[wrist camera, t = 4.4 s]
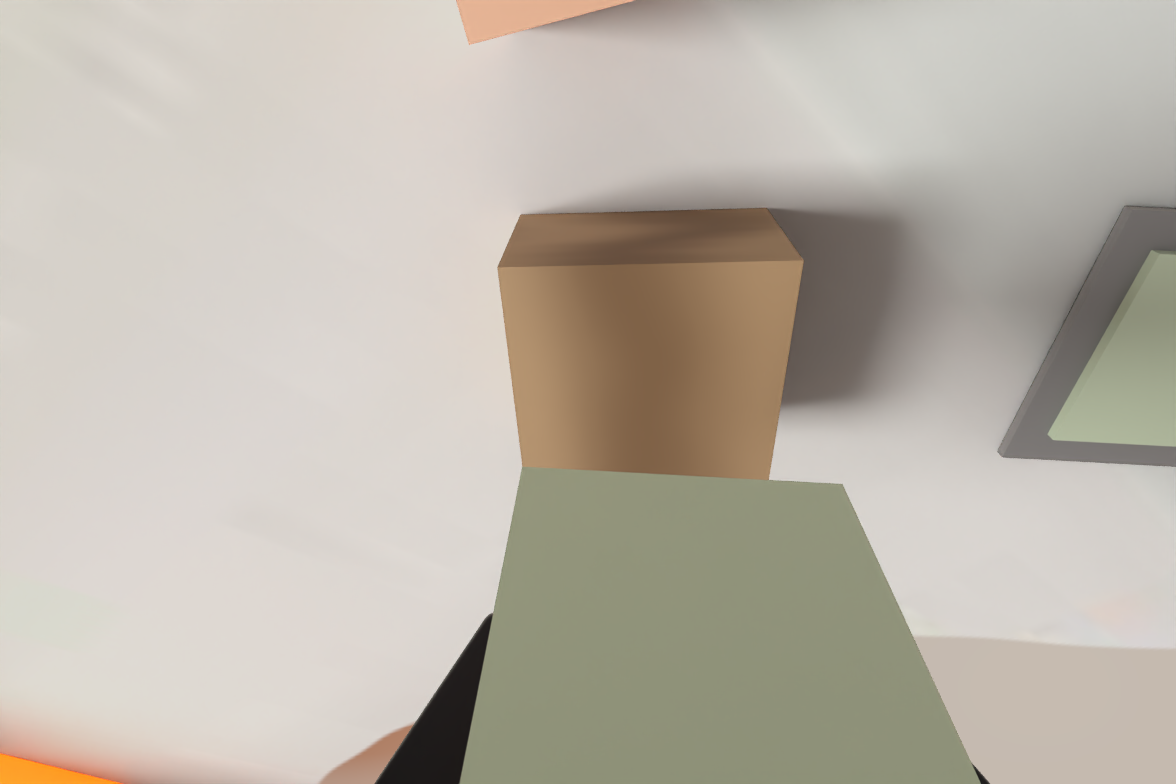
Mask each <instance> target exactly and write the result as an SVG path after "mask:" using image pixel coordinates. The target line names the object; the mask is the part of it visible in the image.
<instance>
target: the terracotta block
mask: <svg viewBox="0 0 1176 784" xmlns="http://www.w3.org/2000/svg"><path fill="white" fill-rule="evenodd" d="M456 1H457V5H458V8H459V12H460V15H461V18H462V22H463V25H464V29H465V32H466V36H467V39H468V43H469V45H470V44H474V43H478V42H482V41H485V40H489V39H493V38H497V37H500V36H504V35H508V34H511V33H515V32H519V31H523V30H526V29H530V28H534V27H538V26H541V25H545V24H549V23H553V22H556V21H560V20H564V19H568V18H571V17H575V16H579V15H583V14H586V13H590V12H594V11H598V10H601V9H605V8H609V7H612V6H616V5H620V4H624V3H627V2H631V1H635V0H456Z"/></svg>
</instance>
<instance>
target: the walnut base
mask: <svg viewBox="0 0 1176 784" xmlns="http://www.w3.org/2000/svg"><path fill="white" fill-rule="evenodd" d="M803 262H804V260H803V259H802V257H801V256H800V254H799V253H798V252H797V250H796V249H795V247H794V246H793V244H792V243H791V242H790V240H789V239H788V237H787V236H786V235H785V233H784V232H783V230H782V229H781V228H780V226H779V225H778V223H777V222H776V221H775V219H774V218H773V216H772V215H771V213H770V212H769V211H768V209H767V208H747V209H710V210H674V211H638V212H602V213H566V214H530V215H520V217H519V219H518V222H517V224H516V226H515V229H514V231H513V233H512V235H511V238H510V240H509V242H508V245H507V247H506V249H505V251H504V254H503V256H502V258H501V260H500V263H499V265H498V267H497V268H498V276H499V284H500V292H501V299H502V307H503V315H504V323H505V331H506V339H507V347H508V355H509V363H510V371H511V379H512V387H513V395H514V403H515V410H516V418H517V426H518V434H519V442H520V450H521V458H522V466H523V467H538V468H556V469H575V470H593V471H611V472H629V473H648V474H666V475H684V476H702V477H721V478H739V479H757V480H769V474H770V468H771V462H772V456H773V449H774V443H775V437H776V431H777V425H778V418H779V412H780V406H781V400H782V393H783V387H784V381H785V375H786V368H787V362H788V356H789V350H790V343H791V337H792V331H793V325H794V319H795V312H796V306H797V300H798V294H799V287H800V281H801V275H802V269H803Z"/></svg>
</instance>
